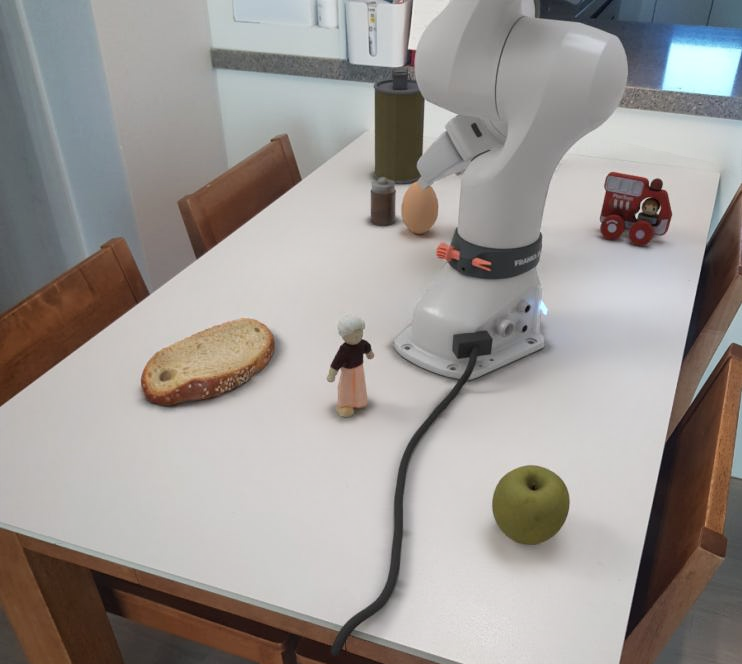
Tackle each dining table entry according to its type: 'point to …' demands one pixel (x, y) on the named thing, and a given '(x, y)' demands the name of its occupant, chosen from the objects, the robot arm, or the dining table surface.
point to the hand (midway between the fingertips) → (439, 177)
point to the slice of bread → (208, 362)
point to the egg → (419, 208)
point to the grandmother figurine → (350, 366)
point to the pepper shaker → (383, 202)
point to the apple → (530, 504)
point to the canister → (398, 127)
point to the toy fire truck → (634, 208)
